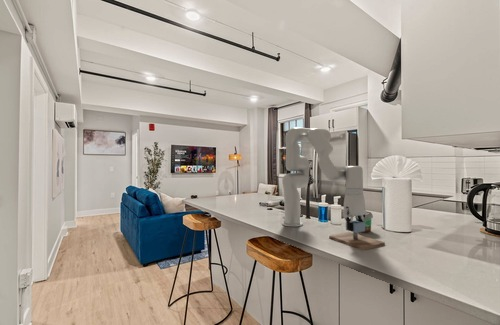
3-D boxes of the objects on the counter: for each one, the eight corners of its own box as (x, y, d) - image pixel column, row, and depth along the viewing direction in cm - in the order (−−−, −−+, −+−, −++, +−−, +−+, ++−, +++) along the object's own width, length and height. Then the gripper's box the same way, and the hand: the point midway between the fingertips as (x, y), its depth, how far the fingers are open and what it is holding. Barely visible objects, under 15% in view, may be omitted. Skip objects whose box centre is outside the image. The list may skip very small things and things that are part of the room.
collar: (345, 229, 118) (345, 221, 118) (354, 228, 121) (354, 220, 121) (356, 232, 113) (356, 224, 113) (365, 231, 116) (365, 222, 116)
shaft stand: (329, 238, 123) (328, 223, 123) (349, 234, 129) (348, 220, 129) (363, 250, 105) (363, 233, 105) (384, 245, 111) (384, 229, 111)
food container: (367, 235, 127) (366, 215, 127) (355, 232, 132) (355, 214, 132) (377, 230, 135) (376, 212, 135) (365, 228, 140) (365, 210, 140)
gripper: (360, 190, 124) (361, 225, 124) (335, 192, 117) (335, 230, 116) (373, 191, 118) (374, 229, 117) (347, 193, 110) (348, 234, 110)
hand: (355, 229), depth 117 cm, fingers closed on collar, 6 cm apart
